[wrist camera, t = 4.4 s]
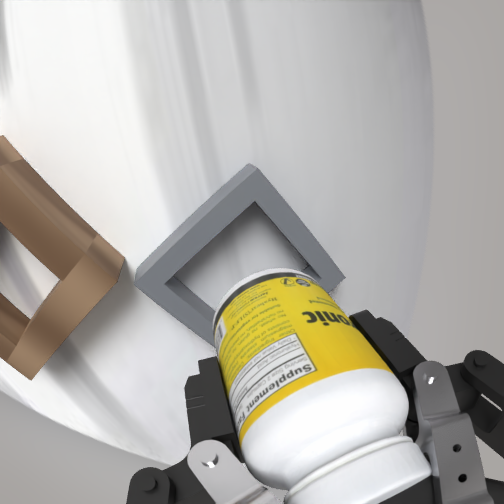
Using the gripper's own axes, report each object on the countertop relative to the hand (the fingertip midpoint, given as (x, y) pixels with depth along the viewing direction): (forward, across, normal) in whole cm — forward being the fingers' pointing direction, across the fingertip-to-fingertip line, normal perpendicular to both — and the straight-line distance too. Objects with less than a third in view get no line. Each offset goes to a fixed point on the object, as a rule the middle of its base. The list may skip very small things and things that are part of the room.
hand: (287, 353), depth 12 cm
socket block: (+9, +14, -4) cm, 17 cm away
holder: (+9, 0, 0) cm, 9 cm away
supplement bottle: (+3, 0, 0) cm, 3 cm away
